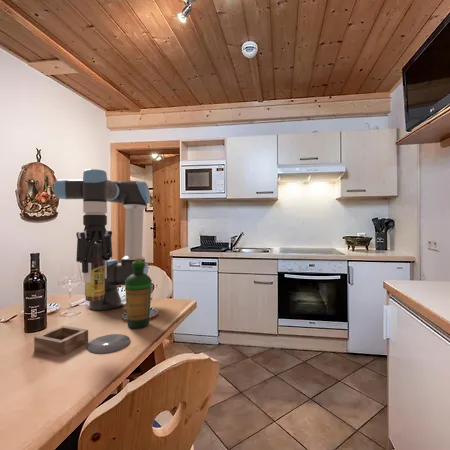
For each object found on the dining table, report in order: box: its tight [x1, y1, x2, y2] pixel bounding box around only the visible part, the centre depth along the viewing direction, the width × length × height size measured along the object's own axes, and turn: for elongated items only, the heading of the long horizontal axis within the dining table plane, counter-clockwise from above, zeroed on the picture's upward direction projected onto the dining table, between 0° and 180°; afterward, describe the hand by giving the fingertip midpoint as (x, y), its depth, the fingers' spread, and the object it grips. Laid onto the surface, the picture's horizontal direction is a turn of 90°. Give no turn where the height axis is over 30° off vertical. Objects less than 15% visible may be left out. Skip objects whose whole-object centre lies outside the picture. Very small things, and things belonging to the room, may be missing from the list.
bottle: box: [124, 258, 153, 330], centre depth 115 cm, size 11×11×28 cm
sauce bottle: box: [84, 242, 105, 302], centre depth 97 cm, size 6×6×20 cm
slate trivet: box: [86, 333, 131, 354], centre depth 98 cm, size 14×14×1 cm
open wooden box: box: [33, 325, 89, 357], centre depth 96 cm, size 11×12×4 cm
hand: (95, 279), depth 97 cm, fingers closed on sauce bottle, 6 cm apart
